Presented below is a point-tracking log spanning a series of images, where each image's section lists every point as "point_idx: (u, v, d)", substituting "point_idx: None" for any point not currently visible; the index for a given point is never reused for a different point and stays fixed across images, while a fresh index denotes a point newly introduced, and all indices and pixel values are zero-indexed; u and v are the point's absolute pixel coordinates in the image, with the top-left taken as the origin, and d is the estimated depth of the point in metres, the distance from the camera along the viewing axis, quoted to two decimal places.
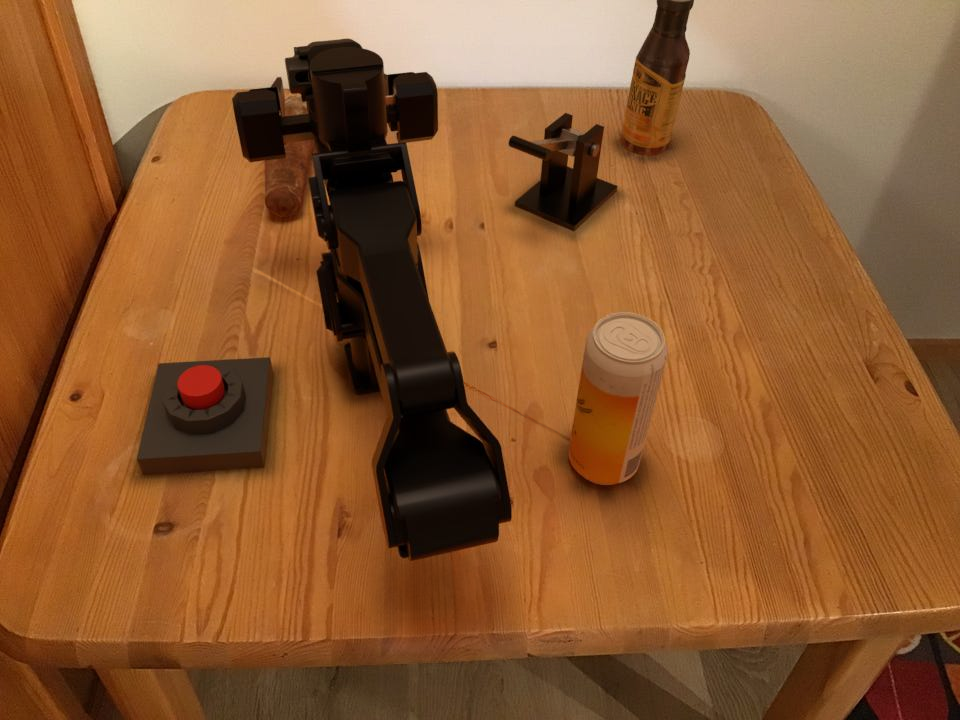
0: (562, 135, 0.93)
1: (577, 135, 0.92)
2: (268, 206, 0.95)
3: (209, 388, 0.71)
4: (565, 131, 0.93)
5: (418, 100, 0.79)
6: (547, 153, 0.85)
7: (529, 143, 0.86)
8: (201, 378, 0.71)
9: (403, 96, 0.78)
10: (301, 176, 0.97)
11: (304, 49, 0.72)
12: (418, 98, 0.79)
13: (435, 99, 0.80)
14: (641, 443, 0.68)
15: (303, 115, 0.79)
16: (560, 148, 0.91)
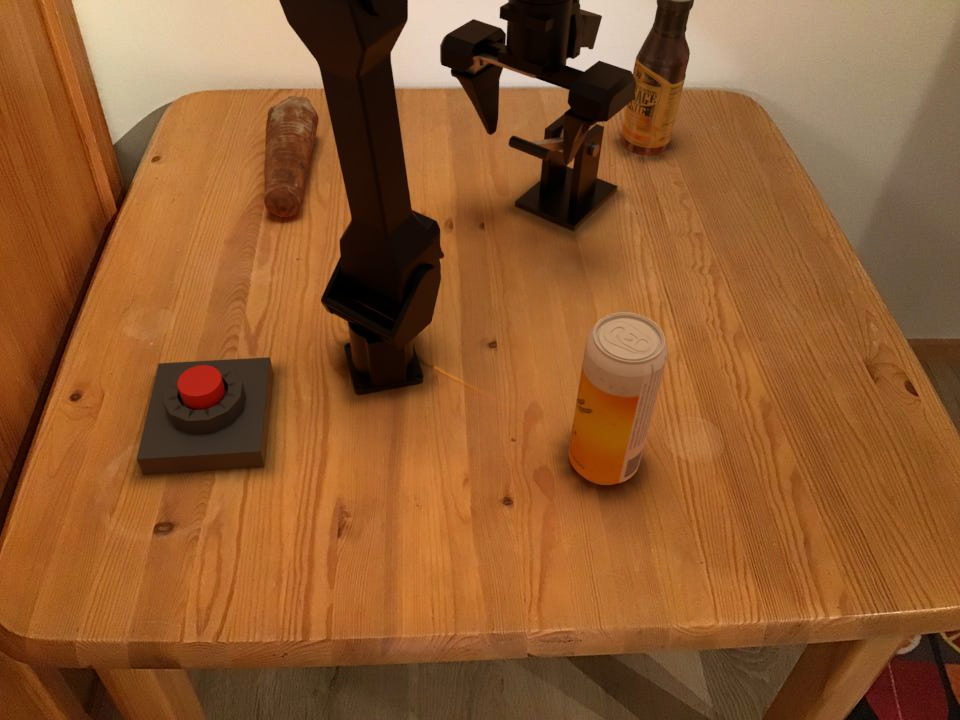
0: (562, 135, 0.93)
1: None
2: (267, 206, 0.95)
3: (209, 388, 0.71)
4: None
5: (615, 68, 0.77)
6: (547, 153, 0.85)
7: (529, 143, 0.86)
8: (201, 378, 0.71)
9: (604, 62, 0.78)
10: (300, 176, 0.97)
11: None
12: (616, 67, 0.77)
13: (629, 77, 0.76)
14: (641, 443, 0.68)
15: None
16: (560, 148, 0.91)
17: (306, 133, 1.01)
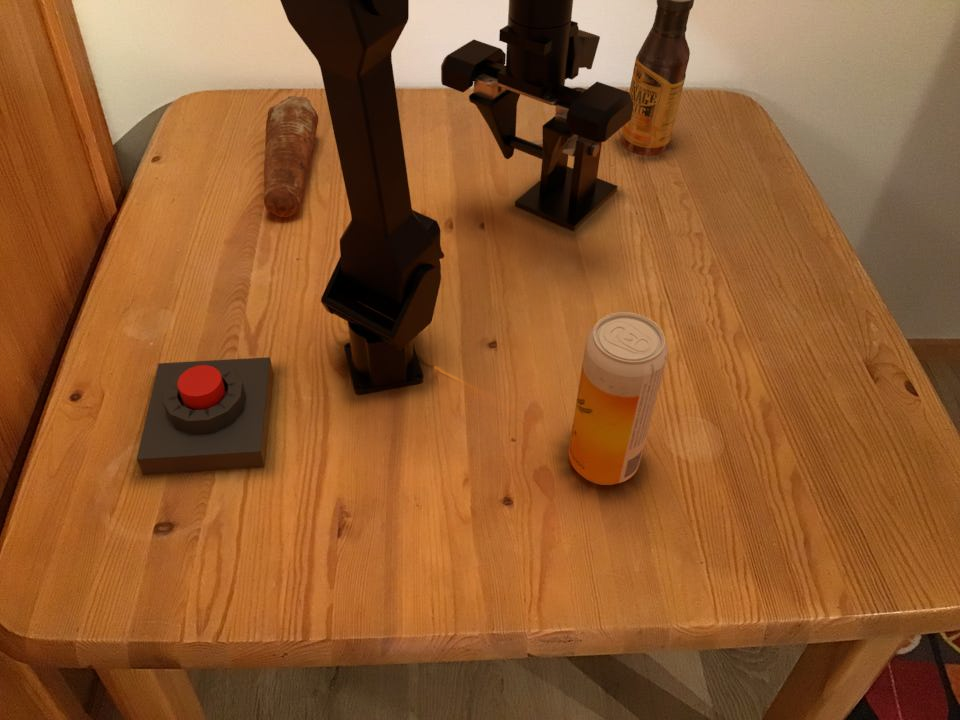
0: None
1: (577, 135, 0.92)
2: (267, 206, 0.95)
3: (209, 388, 0.71)
4: None
5: (612, 89, 0.78)
6: None
7: (529, 143, 0.86)
8: (201, 378, 0.71)
9: None
10: (300, 176, 0.97)
11: None
12: (613, 88, 0.79)
13: (627, 98, 0.78)
14: (641, 443, 0.68)
15: None
16: None
17: (306, 133, 1.01)
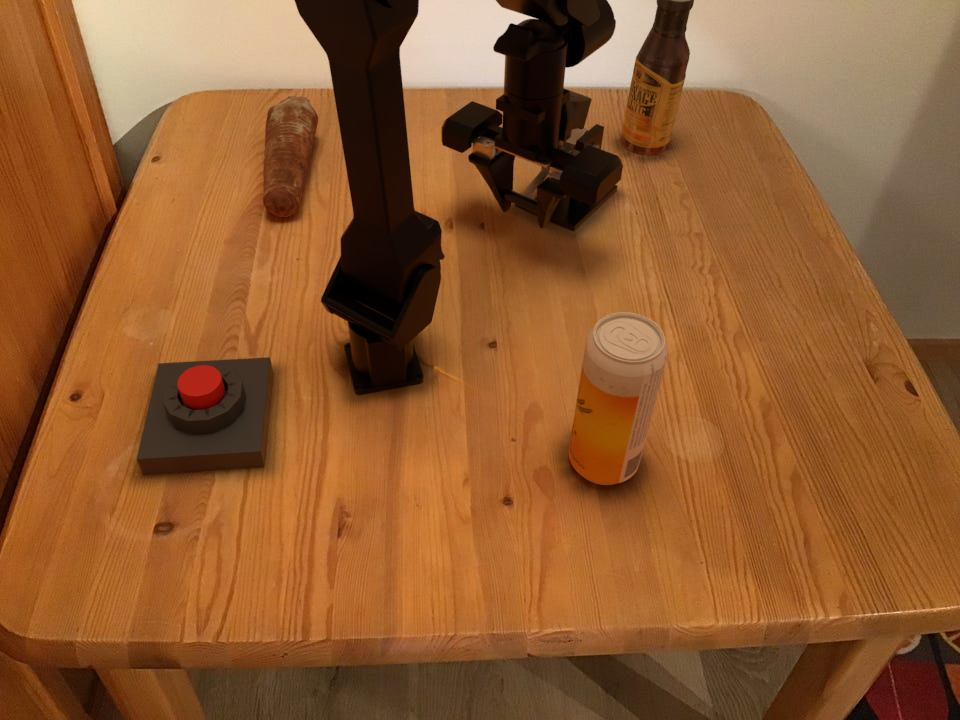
0: (559, 143, 0.93)
1: (573, 145, 0.92)
2: (266, 206, 0.95)
3: (209, 388, 0.71)
4: (561, 141, 0.93)
5: (603, 152, 0.83)
6: None
7: (521, 200, 0.90)
8: (201, 378, 0.71)
9: None
10: (299, 176, 0.97)
11: None
12: (604, 152, 0.83)
13: (616, 162, 0.83)
14: (641, 443, 0.68)
15: None
16: None
17: (305, 133, 1.01)
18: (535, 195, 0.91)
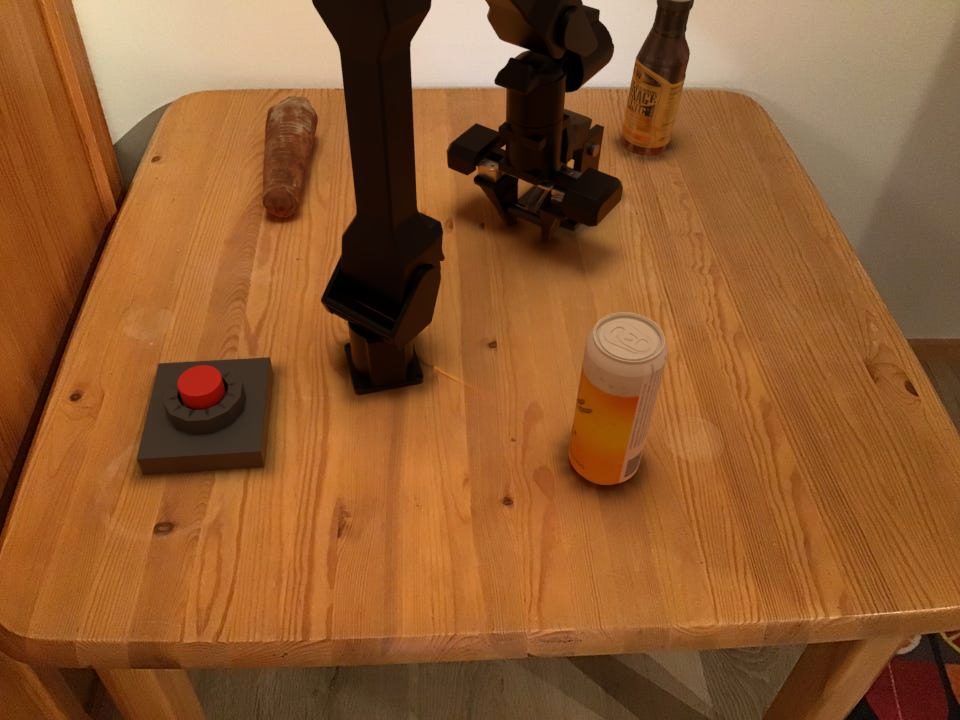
0: None
1: None
2: (266, 206, 0.95)
3: (209, 388, 0.71)
4: None
5: (603, 175, 0.86)
6: None
7: (524, 214, 0.92)
8: (201, 378, 0.71)
9: (593, 169, 0.87)
10: (299, 176, 0.97)
11: None
12: (604, 174, 0.86)
13: (616, 184, 0.85)
14: (641, 443, 0.68)
15: None
16: None
17: (305, 133, 1.01)
18: (538, 206, 0.93)
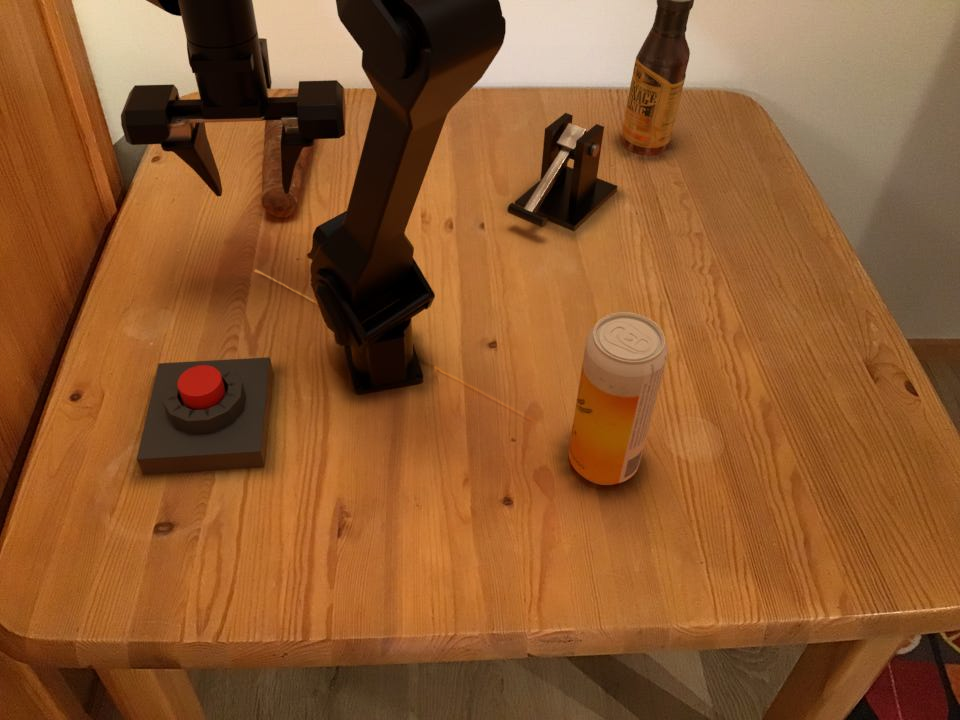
0: (559, 146, 0.94)
1: (572, 148, 0.93)
2: (265, 206, 0.95)
3: (209, 388, 0.71)
4: (560, 144, 0.93)
5: (320, 83, 0.75)
6: (542, 223, 0.91)
7: (524, 214, 0.92)
8: (201, 378, 0.71)
9: None
10: (298, 177, 0.97)
11: None
12: (320, 82, 0.76)
13: (339, 86, 0.76)
14: (641, 443, 0.68)
15: None
16: (559, 173, 0.93)
17: None
18: (538, 206, 0.93)
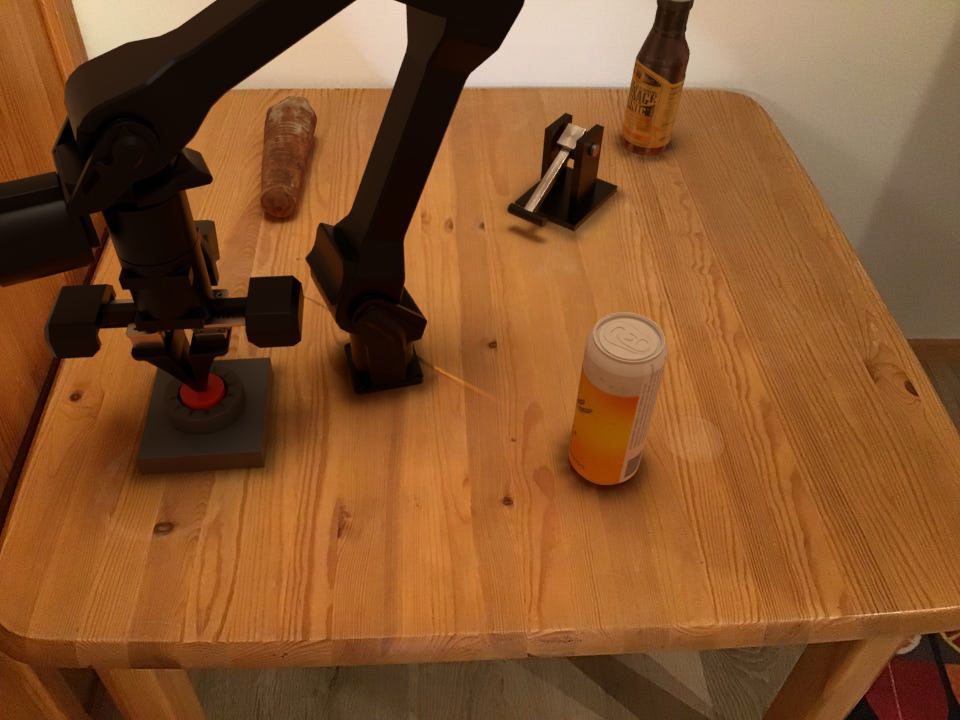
0: (559, 146, 0.94)
1: (572, 148, 0.93)
2: (263, 206, 0.95)
3: (211, 396, 0.71)
4: (560, 144, 0.93)
5: (273, 279, 0.67)
6: (542, 223, 0.91)
7: (524, 214, 0.92)
8: None
9: (256, 277, 0.67)
10: (297, 177, 0.97)
11: None
12: (274, 278, 0.67)
13: (296, 283, 0.67)
14: (641, 443, 0.68)
15: None
16: (559, 173, 0.93)
17: (304, 133, 1.01)
18: (538, 206, 0.93)
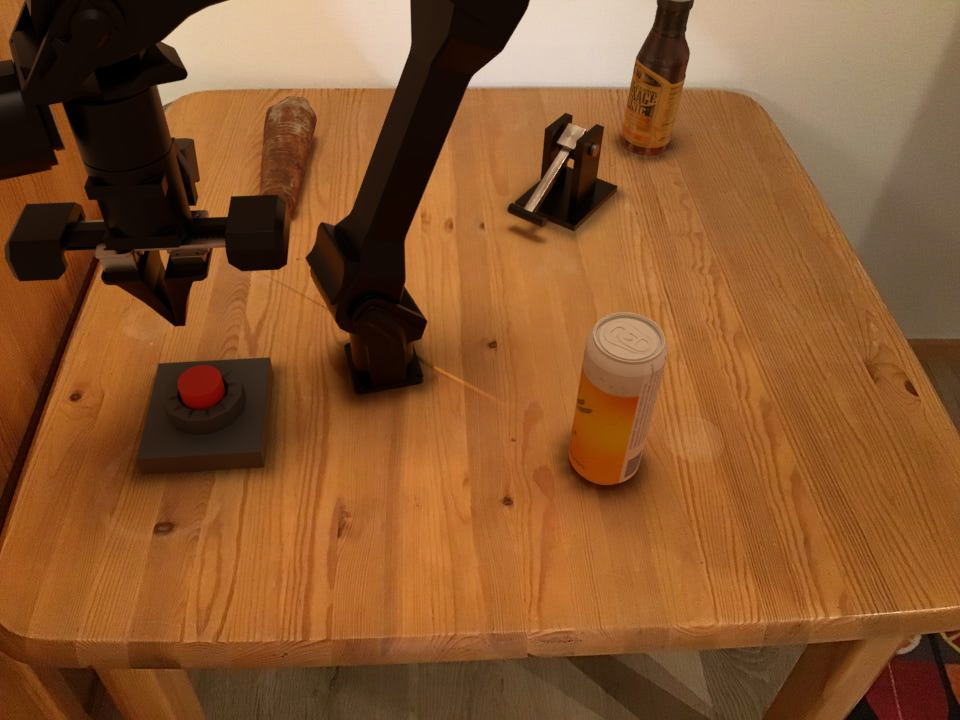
0: (559, 146, 0.94)
1: (572, 148, 0.93)
2: None
3: (209, 388, 0.71)
4: (560, 144, 0.93)
5: (257, 198, 0.61)
6: (542, 223, 0.91)
7: (524, 214, 0.92)
8: (201, 378, 0.71)
9: None
10: (296, 177, 0.97)
11: None
12: (257, 197, 0.61)
13: (281, 203, 0.61)
14: (641, 443, 0.68)
15: None
16: (559, 173, 0.93)
17: (303, 133, 1.01)
18: (538, 206, 0.93)
